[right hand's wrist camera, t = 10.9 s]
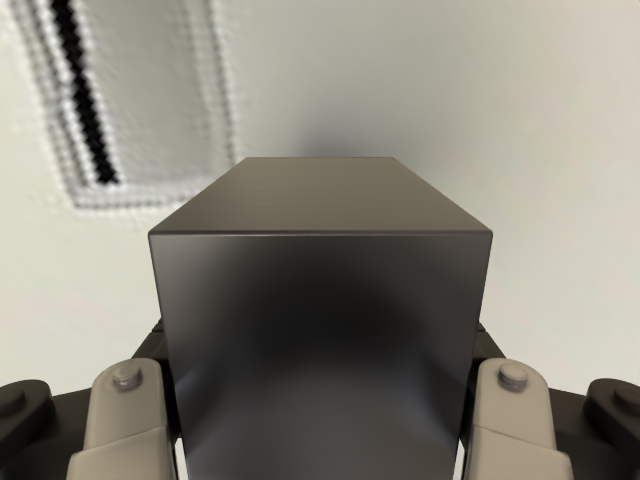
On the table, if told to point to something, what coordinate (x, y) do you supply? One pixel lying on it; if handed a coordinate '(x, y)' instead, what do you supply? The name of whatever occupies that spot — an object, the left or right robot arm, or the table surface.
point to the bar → (320, 320)
